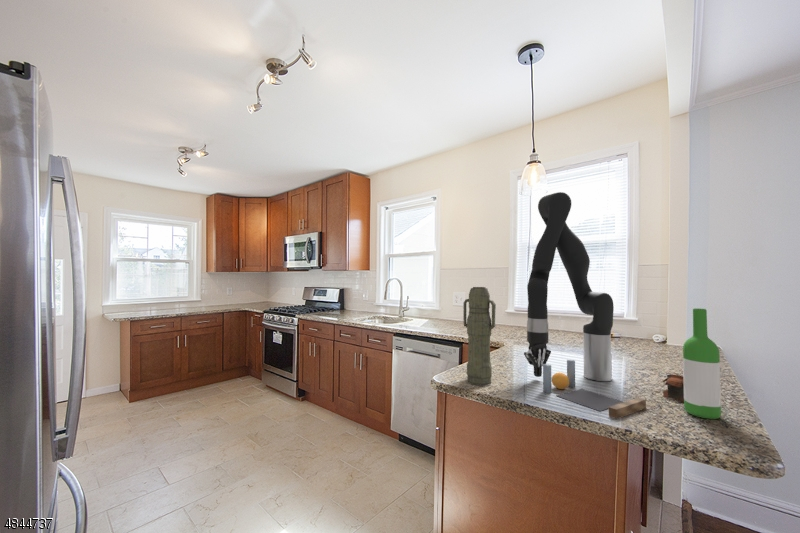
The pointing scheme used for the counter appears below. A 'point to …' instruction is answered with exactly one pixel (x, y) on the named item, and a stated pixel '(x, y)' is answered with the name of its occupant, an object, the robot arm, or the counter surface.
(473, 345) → the thermos
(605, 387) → the counter surface
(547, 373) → the post
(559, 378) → the ball
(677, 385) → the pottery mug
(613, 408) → the wall
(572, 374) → the post
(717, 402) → the wine bottle
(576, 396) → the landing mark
